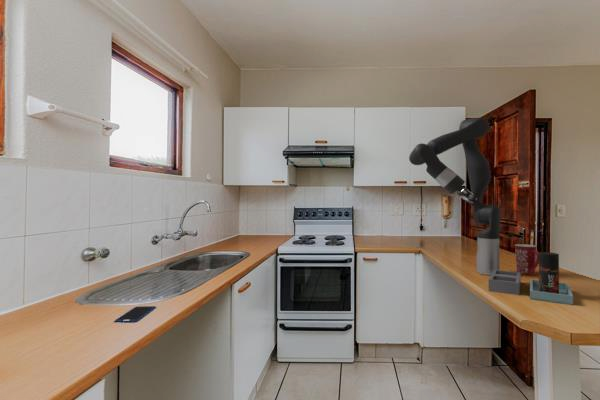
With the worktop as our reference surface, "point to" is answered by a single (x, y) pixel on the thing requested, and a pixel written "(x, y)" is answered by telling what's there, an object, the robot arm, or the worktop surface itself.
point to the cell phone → (135, 314)
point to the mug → (526, 258)
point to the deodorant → (549, 272)
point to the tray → (562, 297)
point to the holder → (505, 282)
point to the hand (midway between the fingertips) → (480, 207)
